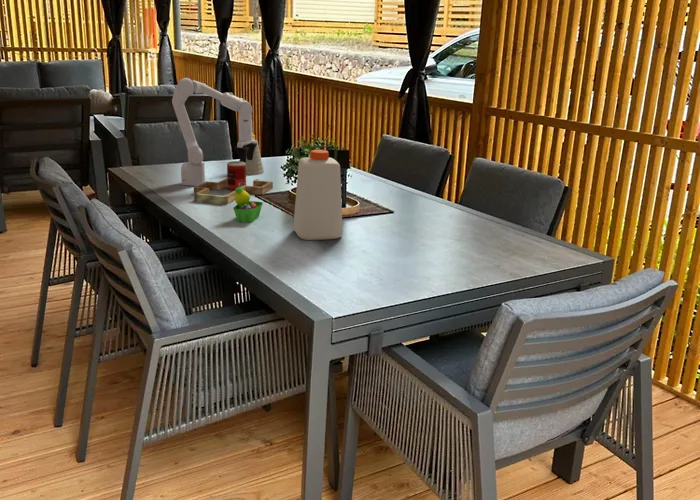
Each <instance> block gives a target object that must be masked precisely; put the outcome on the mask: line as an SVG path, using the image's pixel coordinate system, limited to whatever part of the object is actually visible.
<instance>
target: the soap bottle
mask: <svg viewBox="0 0 700 500" xmlns="http://www.w3.org/2000/svg"><path fill="white" fill-rule="evenodd" d="M252 136H253V138H254V140H255V142H254V143H257V146H256V148H255V150H254V154H253V159H252V160H247V158H246V176H258V175H262V174H264V172H265V170H264V165H263V161H262V156H261V150H260V146H259V142H258V140H257V139H256V135H255V134H254V132H252ZM238 161H240V159H239V160H238Z"/></svg>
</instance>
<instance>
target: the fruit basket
mask: <svg viewBox="0 0 700 500" xmlns="http://www.w3.org/2000/svg"><path fill="white" fill-rule="evenodd" d="M234 194H235V200H234V201H235V203H236V205H235V206H234V207H232V209H233V211H234V214H235V217H236V222H241V223H242V222H243V223H252V222H253V221H255V220H256V219H257V218H258V217H259V216H260V215H261V210H262V206H263V204H264V202H262V201H254V200H250V199H251V195H250V194H248V193H247V192H246V191H245V190H243V189H242V188H240V187H239V188H236V189H235V192H234Z"/></svg>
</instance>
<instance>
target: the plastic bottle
mask: <svg viewBox="0 0 700 500" xmlns="http://www.w3.org/2000/svg"><path fill="white" fill-rule="evenodd" d="M341 183H342V182H341V165H340V163H339V162H338V161H337V160H336V159H335V158H333V157H330V154H329V151H328V150H325V149H312V150H310V153H309V157H302V158H300V159H299V160H298V167H297V180H296V192H295V204H294V215H293V225H292V226H293V227H292V228H293V230H294V232H295V233H296V235H297V237H298V238H300V239H301V240H303V241H306V240H307V241H319V240H321V241H322V240H337V239H339V238H341V237H342V236H343V217H342V216H343V210H342V208H343V207H342V186H341V185H342V184H341Z"/></svg>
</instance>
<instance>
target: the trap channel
mask: <svg viewBox="0 0 700 500" xmlns="http://www.w3.org/2000/svg"><path fill="white" fill-rule="evenodd" d="M205 181H206V182H204V183H202V184H200V185H198V186H193V195H194V196H193V199H194V200H193V202H195V203H203V204H205V203H206V204H207V203H208V204H216V205H225V206H227V205H229V204H231V203H232V202H233V201H235V194H234V192H235V191H233V190H232V192H230V193H228V194H227V195H218V194H217V195H215V194H210V190H213V191H221V190H223V189H225V188H226V187H227V188H228V181H227V177H226V178H224V179H221V180H220V181H218V182H217V181H207V180H205ZM273 183H274V181H268V180H259V179H258V178H255V179H254V180H252V185H247V184H246V185H244V186H242V187H241V188H242V189H243V190H245V191H246V192H247V193H248V194H249V195H250V194H251V195H258V196H259V195H260V196H263V195H265V194H267V193H268V192H270V191H271V190H273V189H274V187H273V186H274V185H273Z"/></svg>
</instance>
